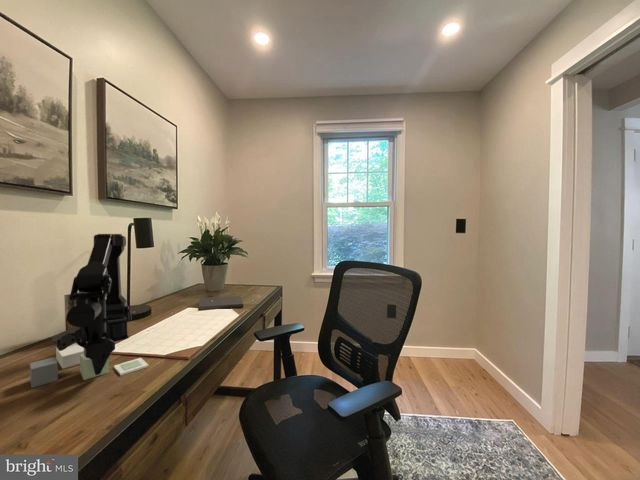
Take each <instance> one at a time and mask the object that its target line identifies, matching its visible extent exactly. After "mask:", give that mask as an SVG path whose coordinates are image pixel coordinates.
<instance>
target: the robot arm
mask: <svg viewBox="0 0 640 480" xmlns="http://www.w3.org/2000/svg"><path fill="white" fill-rule="evenodd" d="M126 245H127V238H126V236H123V234H122V233H98V234H94V235H93V247H92V249H91V252H90V255H89V258H88V262H87V264H85V266H82V267H81V268H79V270H78V273H77V274H76V276H75V277H74V278H73V281H72V285H71V290H70V293H69V294H70V300H77V301H76V305H75V306H74V307H72V308H71V309H70V310H69V311H68V313H67V316H66V318H67V321H68V323H70V324H71V325H73V326H75V327H73V328H70V329H68V330H66V329H65V330H64V331H62V332H60V333H58V334H55V335H53V336H52V337H51V339H52V342H53V343H54V345H55V348H58V350H59V351H62V350H64V349H66V348H67V347H69V346H70V345H72V344H74V343H77V344H78V345H79V346H81V347H83V348H84V355H85V357H86V358H89V359H91V361H92V365H93V368H94V372H95V375H98V374H100V373H101V371H102V369H103V367H104V365H105V363H106V361H107V359H109V357H110V355H111V354H112V353H113V352H114V351H115V350H116V342H115V341H121V340H123V339H124V340H125V339H128V338H129V335H128V323H129V322H131V321H132V318H133V317H132V311H131V309H130V307H129V305H128V302H127V299H126V298H125V297H124V296H123V295H122V283H121V265H120V264H121V261H120V257H121V255H122V254H123V253H124V251H125V247H126ZM77 292H80V293H77ZM88 292H89V293H88Z"/></svg>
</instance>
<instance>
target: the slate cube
mask: <svg viewBox="0 0 640 480" xmlns="http://www.w3.org/2000/svg"><path fill="white" fill-rule="evenodd" d="M58 364H59V363H58V361H57V359H56V356H53V357H49V358H46V359H45V358H44V359H41V360H38V361H34V362H30V363H29V378H30V386H31V388H36V387H40V386H43V385H46V384H50V383H53V382H56V381H59V375H58V374H59V371H58V370H59V367H58Z"/></svg>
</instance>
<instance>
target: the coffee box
mask: <svg viewBox="0 0 640 480" xmlns="http://www.w3.org/2000/svg"><path fill="white" fill-rule="evenodd" d="M77 293H80V292H79V291H78V292H77ZM88 293H89V292H88ZM70 294H71V293H69V294H64V299H63V300H64V319H65V320H64V321H65V322H64V323H65V331H66V330H68V329H70V328H73V327H75V326H73V325H71V324H70V323H68V321H67V318H66V316H67V313H68V311H69V310H70V309H71V308H72V307H74V306H75V305H76V301H77V300H70Z"/></svg>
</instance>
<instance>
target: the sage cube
mask: <svg viewBox="0 0 640 480" xmlns="http://www.w3.org/2000/svg"><path fill="white" fill-rule="evenodd" d="M109 363H110V362H109V358H108V359H107V361H106V363H105V365H104V367H103V369H102V371H101V373H100V374H98V375H95V372H94V368H93V365H92V361H91V359H89V358H86V357H85V355H84V354H81V355H80V364H79V368H80V375H81V377H82V380H84V381H87V380H89V379H93V378H96V377H100V376H102V375H105V374H108V373H110V372H109V369H110V368H109Z"/></svg>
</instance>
